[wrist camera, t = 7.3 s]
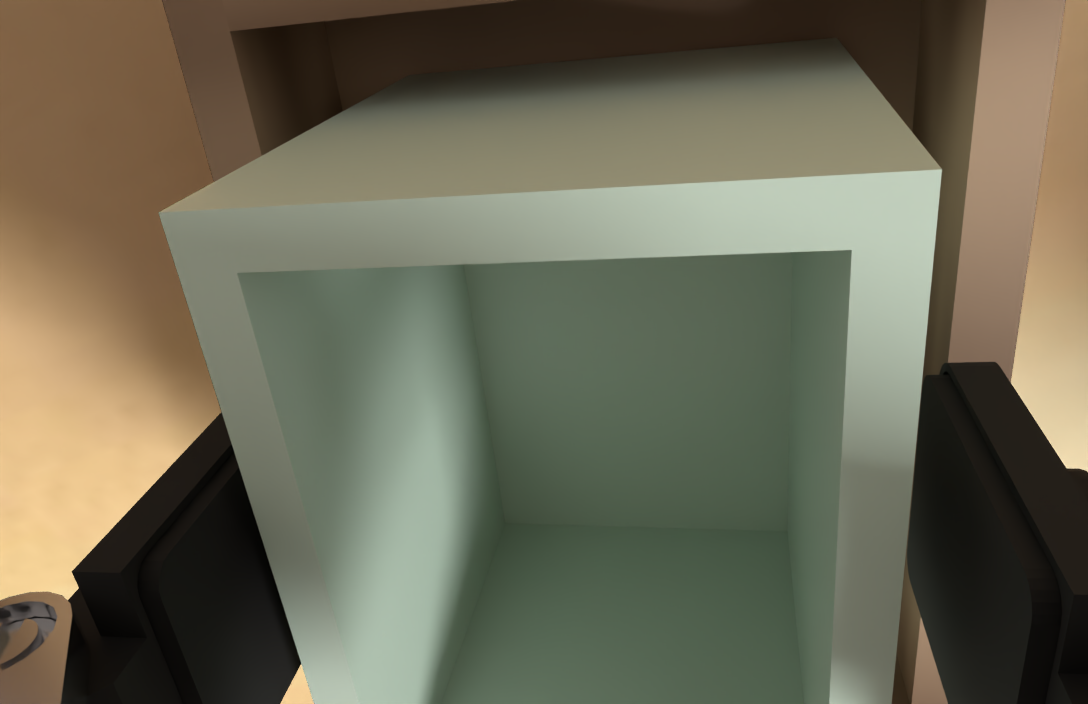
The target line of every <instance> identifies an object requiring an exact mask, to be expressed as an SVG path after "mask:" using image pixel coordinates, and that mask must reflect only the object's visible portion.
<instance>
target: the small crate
mask: <svg viewBox="0 0 1088 704" xmlns="http://www.w3.org/2000/svg"><path fill="white" fill-rule="evenodd" d="M941 175H942V169H941V167H940V166H939V165H938V164H937V162H936V161H935V160H934V159H933V157H932V156H931V155H930V154H929V152H928V151H927V150H926V149H925V147H924V146H923V145H922V144H921V142H920V141H919V140H918V139H917V137H916V136H915V135H914V134H913V132H912V131H911V130H910V129H909V128H908V126H907V125H906V124H905V123H904V121H903V120H902V119H901V118H900V116H899V115H898V114H897V113H896V111H895V110H894V109H893V108H892V106H891V105H890V104H889V103H888V101H887V100H886V99H885V98H884V96H883V95H882V94H881V93H880V91H879V90H878V89H877V88H876V86H875V85H874V84H873V83H872V81H871V80H870V79H869V78H868V76H867V75H866V74H865V73H864V71H863V70H862V69H861V68H860V66H859V65H858V64H857V63H856V61H855V60H854V59H853V58H852V56H851V55H850V54H849V53H848V51H847V50H846V49H845V48H844V46H843V45H842V44H841V43H840V41H839V40H838V39H837V38H827V39H815V40H804V41H793V42H781V43H770V44H758V45H747V46H735V47H724V48H712V49H701V50H690V51H678V52H667V53H655V54H644V55H632V56H621V57H609V58H598V59H586V60H575V61H564V62H552V63H541V64H529V65H518V66H506V67H495V68H483V69H472V70H460V71H449V72H438V73H426V74H415V75H408V76H406V77H405V78H403V79H401V80H399V81H397V82H395V83H394V84H392V85H390V86H388V87H386V88H384V89H383V90H381V91H379V92H377V93H375V94H374V95H372V96H370V97H368V98H366V99H364V100H363V101H361V102H359V103H357V104H355V105H354V106H352V107H350V108H348V109H346V110H344V111H343V112H341V113H339V114H337V115H335V116H333V117H332V118H330V119H328V120H326V121H324V122H323V123H321V124H319V125H317V126H315V127H313V128H312V129H310V130H308V131H306V132H304V133H302V134H301V135H299V136H297V137H295V138H293V139H292V140H290V141H288V142H286V143H284V144H282V145H281V146H279V147H277V148H275V149H273V150H271V151H270V152H268V153H266V154H264V155H262V156H261V157H259V158H257V159H255V160H253V161H251V162H250V163H248V164H246V165H244V166H242V167H240V168H239V169H237V170H235V171H233V172H231V173H230V174H228V175H226V176H224V177H222V178H220V179H219V180H217V181H215V182H213V183H211V184H209V185H208V186H206V187H204V188H202V189H200V190H199V191H197V192H195V193H193V194H191V195H189V196H188V197H186V198H184V199H182V200H180V201H179V202H177V203H175V204H173V205H171V206H169V207H168V208H166V209H164V210H162V211H160V212H158V213H159V216H160V219H161V223H162V226H163V229H164V232H165V235H166V238H167V241H168V245H169V248H170V251H171V254H172V257H173V260H174V263H175V267H176V270H177V273H178V276H179V279H180V282H181V286H182V289H183V292H184V295H185V298H186V301H187V304H188V308H189V311H190V314H191V317H192V320H193V323H194V327H195V330H196V333H197V336H198V339H199V342H200V345H201V349H202V352H203V355H204V358H205V361H206V364H207V368H208V371H209V374H210V377H211V380H212V383H213V386H214V390H215V393H216V396H217V399H218V402H219V405H220V409H221V412H222V415H223V418H224V421H225V424H226V427H227V431H228V434H229V437H230V440H231V443H232V446H233V450H234V453H235V456H236V459H237V462H238V465H239V468H240V472H241V475H242V478H243V481H244V484H245V487H246V491H247V494H248V497H249V500H250V503H251V506H252V509H253V513H254V516H255V519H256V522H257V525H258V528H259V532H260V535H261V538H262V541H263V544H264V547H265V550H266V554H267V557H268V560H269V563H270V566H271V569H272V573H273V576H274V579H275V582H276V585H277V588H278V591H279V595H280V598H281V601H282V604H283V607H284V610H285V614H286V617H287V620H288V623H289V626H290V629H291V632H292V636H293V639H294V642H295V645H296V648H297V651H298V655H299V658H300V661H301V664H302V667H303V670H304V673H305V677H306V680H307V683H308V686H309V689H310V692H311V696H312V699H313V702H314V704H892V694H893V684H894V673H895V663H896V652H897V641H898V631H899V620H900V610H901V599H902V588H903V578H904V567H905V557H906V546H907V535H908V525H909V514H910V504H911V493H912V482H913V472H914V461H915V451H916V440H917V429H918V419H919V408H920V398H921V387H922V376H923V366H924V355H925V345H926V334H927V323H928V313H929V302H930V292H931V281H932V271H933V260H934V249H935V239H936V228H937V218H938V207H939V196H940V186H941Z"/></svg>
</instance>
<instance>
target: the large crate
mask: <svg viewBox="0 0 1088 704" xmlns="http://www.w3.org/2000/svg"><path fill="white" fill-rule="evenodd" d="M162 2H163V5H164V9H165V12H166V16H167V19H168V23H169V26H170V30H171V33H172V37H173V40H174V44H175V47H176V51H177V54H178V58H179V61H180V65H181V68H182V72H183V75H184V79H185V82H186V86H187V89H188V93H189V96H190V100H191V103H192V107H193V110H194V114H195V118H196V121H197V125H198V128H199V132H200V135H201V139H202V142H203V146H204V149H205V153H206V156H207V160H208V163H209V167H210V170H211V174H212V177H213V181H214V182H215V181H217V180H219V179H220V178H222V177H224V176H226V175H228V174H230V173H231V172H233V171H235V170H237V169H239V168H240V167H242V166H244V165H246V164H248V163H250V162H251V161H253V160H255V159H257V158H259V157H261V156H262V155H264V154H266V153H268V152H270V151H271V150H273V149H275V148H277V147H279V146H281V145H282V144H284V143H286V142H288V141H290V140H292V139H293V138H295V137H297V136H299V135H301V134H302V133H304V132H306V131H308V130H310V129H312V128H313V127H315V126H317V125H319V124H321V123H323V122H324V121H326V120H328V119H330V118H332V117H333V116H335V115H337V114H339V113H341V112H343V111H344V110H346V109H348V108H350V107H352V106H354V105H355V104H357V103H359V102H361V101H363V100H364V99H366V98H368V97H370V96H372V95H374V94H375V93H377V92H379V91H381V90H383V89H384V88H386V87H388V86H390V85H392V84H394V83H395V82H397V81H399V80H401V79H403V78H405V77H406V76H408V75H415V74H426V73H438V72H449V71H460V70H472V69H483V68H495V67H506V66H518V65H529V64H541V63H552V62H564V61H575V60H586V59H598V58H609V57H621V56H632V55H644V54H655V53H667V52H678V51H690V50H701V49H712V48H724V47H735V46H747V45H758V44H770V43H781V42H793V41H804V40H815V39H827V38H837V39H838V40H839V41H840V43H841V44H842V45H843V46H844V48H845V49H846V50H847V51H848V53H849V54H850V55H851V56H852V58H853V59H854V60H855V61H856V63H857V64H858V65H859V66H860V68H861V69H862V70H863V71H864V73H865V74H866V75H867V76H868V78H869V79H870V80H871V81H872V83H873V84H874V85H875V86H876V88H877V89H878V90H879V91H880V93H881V94H882V95H883V96H884V98H885V99H886V100H887V101H888V103H889V104H890V105H891V106H892V108H893V109H894V110H895V111H896V113H897V114H898V115H899V116H900V118H901V119H902V120H903V121H904V123H905V124H906V125H907V126H908V128H909V129H910V130H911V131H912V132H913V134H914V135H915V136H916V137H917V139H918V140H919V141H920V142H921V144H922V145H923V146H924V147H925V149H926V150H927V151H928V152H929V154H930V155H931V156H932V157H933V159H934V160H935V161H936V162H937V164H938V165H939V166H940V167H941V169H942V175H941V186H940V196H939V207H938V218H937V228H936V239H935V249H934V260H933V271H932V281H931V292H930V302H929V313H928V323H927V334H926V345H925V355H924V366H923V376H922V387H923V381H924V378H925V376H926V375H939V373H940V370H941V367H942V365H943V364H944V363H957V362H996V363H997V364H998V365H999V366H1000V367H1001V369H1002V370H1003V372H1004V373H1005V375H1006V376H1007V378H1008V380H1009V381H1010V383H1011V376H1012V369H1013V362H1014V356H1015V349H1016V342H1017V335H1018V328H1019V321H1020V314H1021V307H1022V300H1023V293H1024V286H1025V279H1026V272H1027V265H1028V258H1029V251H1030V245H1031V238H1032V231H1033V224H1034V217H1035V210H1036V203H1037V196H1038V189H1039V182H1040V175H1041V168H1042V161H1043V154H1044V147H1045V140H1046V133H1047V127H1048V120H1049V113H1050V106H1051V99H1052V92H1053V85H1054V78H1055V71H1056V64H1057V57H1058V50H1059V43H1060V36H1061V29H1062V22H1063V16H1064V9H1065V2H1066V0H162ZM922 387H921V397H922ZM920 407H921V398H920ZM919 418H920V408H919ZM918 429H919V419H918ZM918 429H917V439H918ZM916 450H917V440H916ZM915 461H916V451H915ZM915 461H914V472H915ZM914 472H913V482H914ZM913 482H912V493H913ZM912 493H911V504H912ZM911 504H910V514H911ZM910 514H909V525H910ZM909 525H908V535H907V546H908V536H909ZM907 546H906V557H905V567H904V578H903V588H902V599H901V610H900V620H899V631H898V641H897V652H896V663H895V673H894V684H893V694H892V704H948V702H947V699H946V695H945V692H944V689H943V686H942V683H941V679H940V676H939V673H938V670H937V667H936V663H935V660H934V657H933V654H932V651H931V647H930V644H929V641H928V638H927V634H926V631H925V628H924V625H923V622H922V618H921V615H920V612H919V609H918V606H917V602H916V599H915V596H914V593H913V590H912V586H911V583H910V579H909V574H908V566H907Z"/></svg>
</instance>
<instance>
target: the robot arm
mask: <svg viewBox="0 0 1088 704" xmlns="http://www.w3.org/2000/svg"><path fill="white" fill-rule="evenodd" d="M907 566H908V574H909V579H910V583H911V586H912V590H913V593H914V596H915V599H916V602H917V606H918V609H919V612H920V615H921V618H922V622H923V625H924V628H925V631H926V634H927V638H928V641H929V644H930V647H931V651H932V654H933V657H934V660H935V663H936V667H937V670H938V673H939V676H940V679H941V683H942V686H943V689H944V692H945V695H946V699H947V702H948V704H1088V472H1087V471H1085V470H1081V469H1066V467H1065V466H1064V464H1063V463H1062V461H1061V460H1060V458H1059V456H1058V455H1057V453H1056V452H1055V450H1054V449H1053V447H1052V446H1051V444H1050V443H1049V441H1048V440H1047V438H1046V436H1045V435H1044V433H1043V432H1042V430H1041V429H1040V427H1039V426H1038V424H1037V423H1036V421H1035V420H1034V418H1033V416H1032V415H1031V413H1030V412H1029V410H1028V409H1027V407H1026V406H1025V404H1024V403H1023V401H1022V400H1021V398H1020V396H1019V395H1018V393H1017V392H1016V390H1015V389H1014V387H1013V386H1012V384H1011V383H1010V381H1009V380H1008V378H1007V376H1006V375H1005V373H1004V372H1003V370H1002V369H1001V367H1000V366H999V365H998V364H997V363H996V362H957V363H944V364H943V365H942V367H941V370H940V373H939V375H926V376H925V378H924V381H923V387H922V397H921V407H920V418H919V429H918V439H917V450H916V461H915V472H914V482H913V493H912V504H911V514H910V525H909V536H908V546H907ZM72 573H73V575H74V578H75V580H76V582H77V584H78V587H79V589H78V590H77V591H76V592H75V593H74V594H73V595H72V597H71V598H70V599H69V600H68V601H67V600H66V599H65V598H64V597H63V596H62V595H58V594H55V593H51V592H29V593H25V594H20V595H16V596H12V597H8V598H5V599H3V600H0V704H280V703H281V701H282V699H283V697H284V695H285V693H286V691H287V690H288V688H289V686H290V684H291V682H292V680H293V678H294V676H295V674H296V672H297V670H298V668H299V667H300V665H301V661H300V658H299V655H298V651H297V648H296V645H295V642H294V639H293V636H292V632H291V629H290V626H289V623H288V620H287V617H286V614H285V610H284V607H283V604H282V601H281V598H280V595H279V591H278V588H277V585H276V582H275V579H274V576H273V573H272V569H271V566H270V563H269V560H268V557H267V554H266V550H265V547H264V544H263V541H262V538H261V535H260V532H259V528H258V525H257V522H256V519H255V516H254V513H253V509H252V506H251V503H250V500H249V497H248V494H247V491H246V487H245V484H244V481H243V478H242V475H241V472H240V468H239V465H238V462H237V459H236V456H235V453H234V450H233V446H232V443H231V440H230V437H229V434H228V431H227V427H226V424H225V421H224V418H223V415H222V412H221V413H220V414H219V415H218V416H217V418H216V419H215V420H214V421H213V422H212V423H211V424H210V425H209V426H208V427H207V428H206V429H205V430H204V431H203V432H202V433H201V435H200V436H199V437H198V438H197V439H196V440H195V441H194V442H193V443H192V444H191V445H190V446H189V447H188V448H187V449H186V451H185V452H184V453H183V454H182V455H181V456H180V457H179V458H178V459H177V460H176V461H175V462H174V463H173V464H172V465H171V467H170V468H169V469H168V470H167V471H166V472H165V473H164V474H163V475H162V476H161V477H160V478H159V479H158V480H157V481H156V483H155V484H154V485H153V486H152V487H151V488H150V489H149V490H148V491H147V492H146V493H145V494H144V495H143V496H142V497H141V498H140V500H139V501H138V502H137V503H136V504H135V505H134V506H133V507H132V508H131V509H130V510H129V511H128V512H127V513H126V514H125V516H124V517H123V518H122V519H121V520H120V521H119V522H118V523H117V524H116V525H115V526H114V527H113V528H112V529H111V530H110V532H109V533H108V534H107V535H106V536H105V537H104V538H103V539H102V540H101V541H100V542H99V543H98V544H97V545H96V546H95V548H94V549H93V550H92V551H91V552H90V553H89V554H88V555H87V556H86V557H85V558H84V559H83V560H82V561H81V562H80V564H79V565H78V566H77V567H76V568H75V569H74V570H73V571H72Z"/></svg>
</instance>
